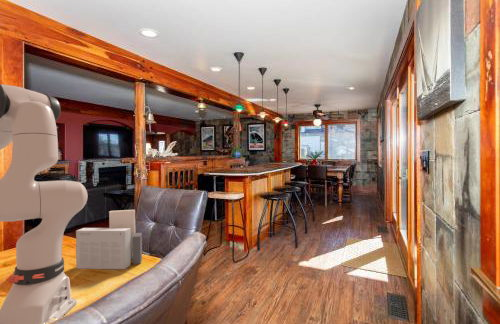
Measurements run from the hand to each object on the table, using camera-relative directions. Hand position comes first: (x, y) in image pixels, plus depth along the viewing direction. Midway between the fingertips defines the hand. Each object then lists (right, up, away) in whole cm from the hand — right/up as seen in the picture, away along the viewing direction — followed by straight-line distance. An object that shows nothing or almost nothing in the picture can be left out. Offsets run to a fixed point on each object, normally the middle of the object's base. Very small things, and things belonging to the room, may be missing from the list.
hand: (44, 206), depth 110 cm
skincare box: (+21, -26, +6) cm, 34 cm away
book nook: (+28, -26, +10) cm, 39 cm away
